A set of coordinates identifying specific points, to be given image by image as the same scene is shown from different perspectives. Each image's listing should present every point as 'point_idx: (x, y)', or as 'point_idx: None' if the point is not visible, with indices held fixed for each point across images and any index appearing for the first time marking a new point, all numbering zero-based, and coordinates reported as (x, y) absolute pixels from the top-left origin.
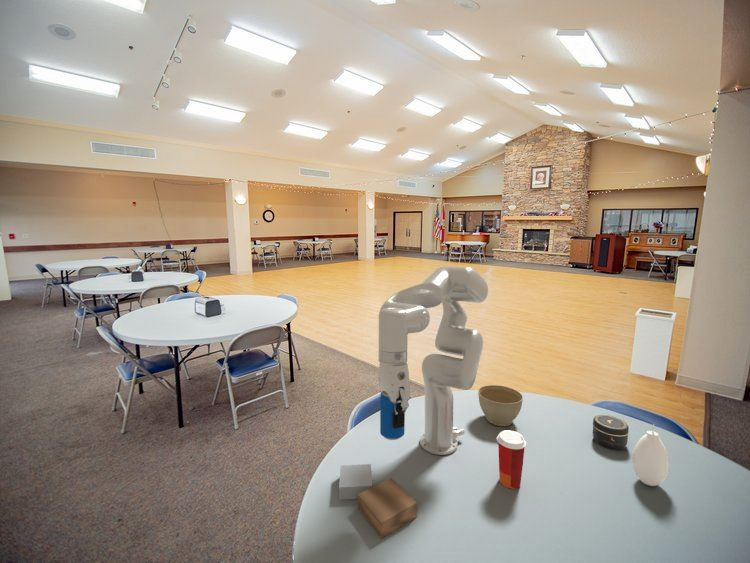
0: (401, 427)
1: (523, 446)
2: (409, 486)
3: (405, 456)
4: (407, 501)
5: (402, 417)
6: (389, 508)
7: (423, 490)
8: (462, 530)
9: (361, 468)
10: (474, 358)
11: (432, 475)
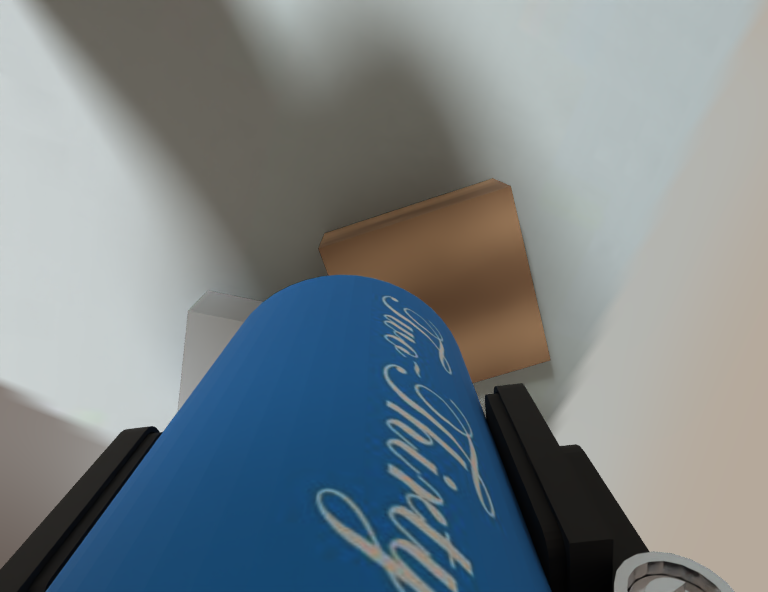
0: (470, 384)
1: None
2: (319, 141)
3: (84, 71)
4: (489, 226)
5: (628, 530)
6: (497, 312)
7: (362, 84)
8: (628, 15)
9: (213, 358)
10: None
11: None
